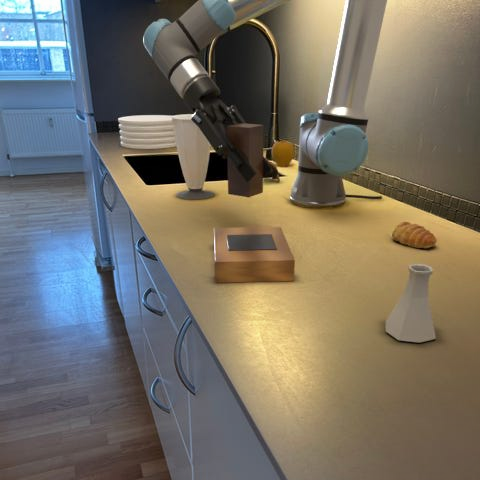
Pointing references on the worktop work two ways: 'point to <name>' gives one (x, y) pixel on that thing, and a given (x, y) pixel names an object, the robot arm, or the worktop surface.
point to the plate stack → (147, 132)
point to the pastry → (413, 235)
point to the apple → (283, 153)
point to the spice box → (251, 147)
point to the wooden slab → (252, 255)
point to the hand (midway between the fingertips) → (259, 175)
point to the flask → (413, 309)
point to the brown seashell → (273, 171)
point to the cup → (192, 157)
